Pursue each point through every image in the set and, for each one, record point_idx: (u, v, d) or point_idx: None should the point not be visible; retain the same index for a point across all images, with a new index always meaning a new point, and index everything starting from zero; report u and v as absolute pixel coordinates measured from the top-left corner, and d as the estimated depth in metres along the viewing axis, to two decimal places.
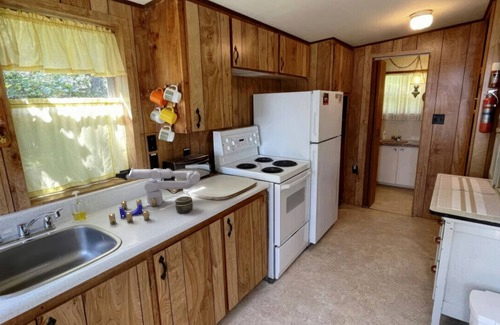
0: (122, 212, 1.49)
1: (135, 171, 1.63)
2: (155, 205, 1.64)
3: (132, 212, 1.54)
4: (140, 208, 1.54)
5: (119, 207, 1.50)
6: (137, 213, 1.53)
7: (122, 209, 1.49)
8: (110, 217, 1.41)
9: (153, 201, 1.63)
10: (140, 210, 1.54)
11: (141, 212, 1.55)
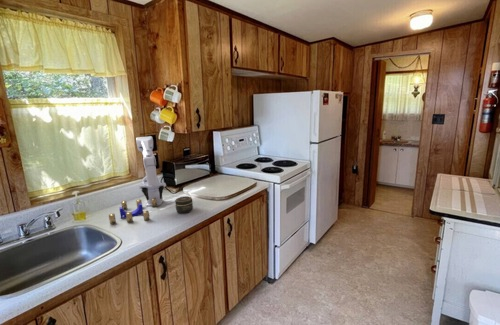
0: (122, 212, 1.49)
1: (154, 181, 1.50)
2: (155, 205, 1.64)
3: (132, 212, 1.53)
4: (140, 208, 1.53)
5: (119, 207, 1.50)
6: (137, 213, 1.53)
7: (122, 209, 1.49)
8: (110, 217, 1.41)
9: (153, 201, 1.63)
10: (140, 210, 1.53)
11: (141, 212, 1.55)
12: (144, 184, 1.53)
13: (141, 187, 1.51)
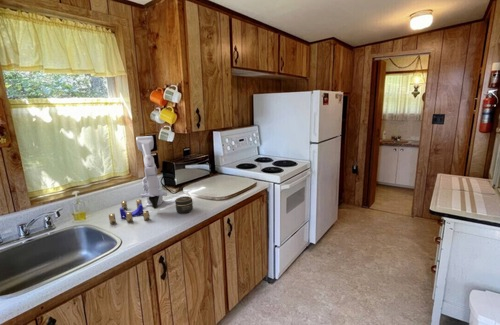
0: (123, 213, 1.48)
1: (155, 190, 1.51)
2: None
3: (132, 213, 1.53)
4: (141, 208, 1.53)
5: None
6: (138, 214, 1.52)
7: (123, 210, 1.48)
8: (110, 217, 1.41)
9: None
10: (141, 210, 1.53)
11: (142, 212, 1.54)
12: (145, 193, 1.54)
13: (142, 196, 1.52)
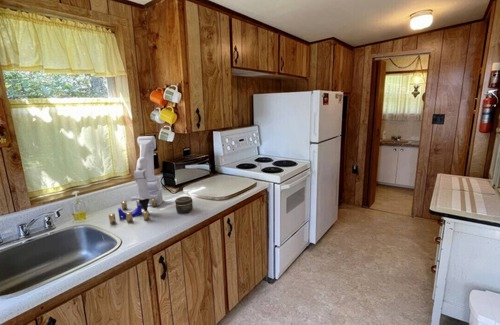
0: (121, 213, 1.48)
1: (146, 193, 1.51)
2: (155, 205, 1.64)
3: None
4: (139, 209, 1.52)
5: (118, 208, 1.49)
6: (136, 214, 1.52)
7: (121, 210, 1.48)
8: (110, 217, 1.41)
9: (153, 201, 1.63)
10: (139, 211, 1.52)
11: None
12: (135, 196, 1.53)
13: (132, 199, 1.52)
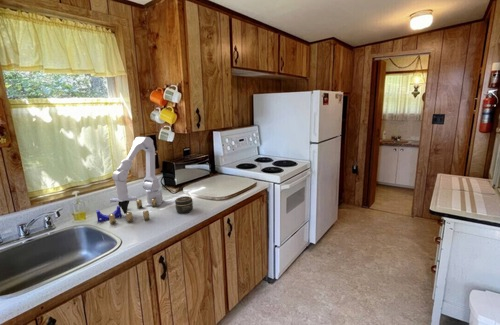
0: (99, 215, 1.46)
1: (125, 195, 1.49)
2: (155, 205, 1.64)
3: None
4: (119, 210, 1.50)
5: (96, 210, 1.47)
6: (115, 216, 1.50)
7: (99, 212, 1.46)
8: (110, 217, 1.41)
9: (153, 201, 1.63)
10: (118, 213, 1.51)
11: (120, 215, 1.52)
12: (115, 198, 1.52)
13: (112, 201, 1.50)
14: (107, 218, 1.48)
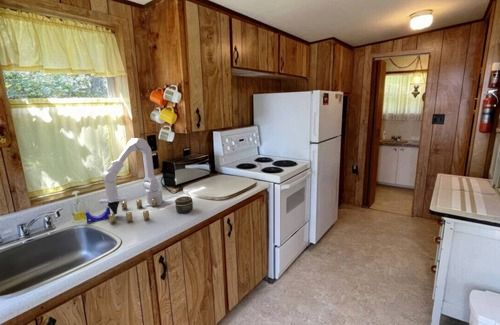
0: (88, 216, 1.45)
1: (114, 196, 1.49)
2: (155, 205, 1.64)
3: (99, 216, 1.50)
4: (108, 211, 1.50)
5: (85, 211, 1.46)
6: (105, 217, 1.49)
7: (88, 213, 1.45)
8: (110, 217, 1.41)
9: (153, 201, 1.63)
10: (108, 214, 1.50)
11: None
12: (105, 199, 1.51)
13: (101, 202, 1.49)
14: (96, 219, 1.47)
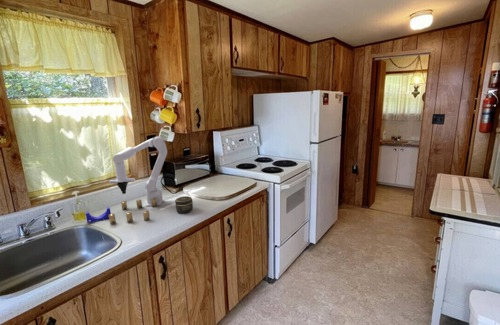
0: (89, 217, 1.45)
1: (123, 176, 1.60)
2: (155, 205, 1.64)
3: (100, 216, 1.49)
4: (108, 212, 1.50)
5: None
6: (105, 217, 1.49)
7: (89, 214, 1.45)
8: (110, 217, 1.41)
9: (153, 201, 1.63)
10: (108, 214, 1.50)
11: None
12: None
13: (111, 182, 1.61)
14: (97, 220, 1.47)
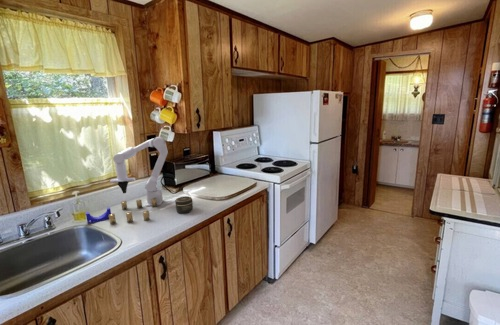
0: (89, 217, 1.44)
1: (124, 176, 1.61)
2: (155, 205, 1.64)
3: (100, 217, 1.49)
4: (109, 212, 1.49)
5: (86, 212, 1.45)
6: (105, 218, 1.49)
7: (89, 214, 1.44)
8: (110, 217, 1.41)
9: (153, 201, 1.63)
10: None
11: None
12: (115, 179, 1.63)
13: (112, 182, 1.61)
14: (97, 220, 1.46)
